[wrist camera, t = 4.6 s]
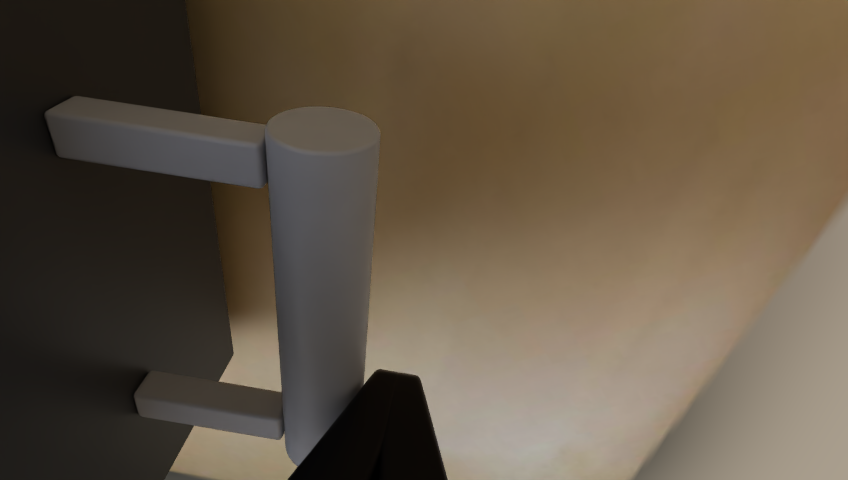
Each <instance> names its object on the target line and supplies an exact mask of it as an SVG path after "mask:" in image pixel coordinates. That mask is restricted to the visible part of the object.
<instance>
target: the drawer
mask: <svg viewBox="0 0 848 480" xmlns="http://www.w3.org/2000/svg"><path fill="white" fill-rule="evenodd" d="M380 137H381V135H380V130H379V128H378V126H377V124H376V123H375V122H374V121H372V120H371V119H370V118H368V117H366V116H364V115H362V114H359V113H357V112H354V111H350V110H346V109H341V108H335V107H324V106H311V107H301V108H294V109H290V110H286V111H283V112H281V113H279V114H276V115H275V116H273V117H272V118H271V119H270V120H269V121H268V122H267V125H265V124H258V123H252V122H245V121H238V120H232V119H225V118H219V117H212V116H206V115H201V112H200V105H199V98H198V90H197V83H196V76H195V68H194V61H193V54H192V47H191V39H190V32H189V25H188V18H187V10H186V3H185V0H0V480H164V479H165V477H166V475H167V474H168V472H169V470H170V468H171V466H172V465H173V463H174V461H175V459H176V457H177V456H178V454H179V452H180V450H181V448H182V447H183V445H184V443H185V441H186V439H187V437H188V436H189V434H190V432H191V430H192V428H193V427H194V426H200V427H206V428H212V429H217V430H223V431H229V432H235V433H241V434H247V435H252V436H258V437H264V438H270V439H276V440H280V439H281V438H282V436H283V434H284V431H285V445H286V451H287V454H288V456H289V458H290V459H291V460H292V462H293V463H294V464H295V465H297V466H299V465H300V464H301V462H302V461H303V460H304V459H305V457H306V456H307V455H308V454H309V452H310V451H311V450H312V449H313V448H314V446H315V445H316V444H317V443H318V441H319V440H320V439H321V438H322V436H323V435H324V434H325V433H326V431H327V430H328V429H329V428H330V426H331V425H332V424H333V423H334V421H335V420H336V419H337V418H338V417H339V415H340V414H341V413H342V412H343V410H344V409H345V408H346V407H347V405H348V404H349V403H350V402H351V400H352V399H353V398H354V397H355V395H356V394H357V393H358V392H359V390H360V389H361V388H362V387H363V386H364V372H365V357H366V342H367V328H368V313H369V298H370V284H371V269H372V254H373V240H374V225H375V210H376V196H377V181H378V166H379V152H380ZM210 181H214V182H220V183H226V184H233V185H239V186H245V187H252V188H263V187H264V186H265V184H266V183H267V182H268V189H269V204H270V219H271V234H272V249H273V264H274V279H275V295H276V310H277V325H278V340H279V355H280V370H281V385H282V392H277V391H271V390H265V389H259V388H253V387H247V386H241V385H235V384H230V383H224V382H218V381H219V380H220V378H221V376H222V374H223V372H224V370H225V369H226V367H227V365H228V363H229V361H230V360H231V358H232V356H233V345H232V338H231V331H230V323H229V316H228V309H227V301H226V294H225V287H224V280H223V272H222V265H221V258H220V250H219V243H218V236H217V229H216V221H215V214H214V207H213V200H212V192H211V185H210Z"/></svg>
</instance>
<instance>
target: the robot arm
mask: <svg viewBox="0 0 848 480" xmlns="http://www.w3.org/2000/svg"><path fill="white" fill-rule="evenodd" d="M288 480H448V479H447V476H446V472H445V468H444V465H443V461H442V457H441V453H440V450H439V446H438V442H437V439H436V435H435V431H434V427H433V424H432V420H431V416H430V413H429V409H428V405H427V401H426V398H425V394H424V390H423V387H422V383H421V380H420V378H419V377H418V376H416V375H411V374H405V373H398V372H394V371H388V370H382V369H379V370H376V371H375V372H374V373H373V374H372V376H371V377H370V378H369V379H368V381H367V382H366V383H365V384H364V386H363V387H362V388H361V389H360V390H359V392H358V393H357V394H356V395H355V397H354V398H353V399H352V400H351V402H350V403H349V404H348V405H347V407H346V408H345V409H344V410H343V412H342V413H341V414H340V415H339V417H338V418H337V419H336V420H335V421H334V423H333V424H332V425H331V426H330V428H329V429H328V430H327V431H326V433H325V434H324V435H323V436H322V438H321V439H320V440H319V441H318V443H317V444H316V445H315V446H314V448H313V449H312V450H311V451H310V452H309V454H308V455H307V456H306V457H305V459H304V460H303V461H302V462H301V464H300V465H299V466H298V467H297V469H296V470H295V471H294V472H293V474H292V475H291V476H290V477H289V478H288Z"/></svg>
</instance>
